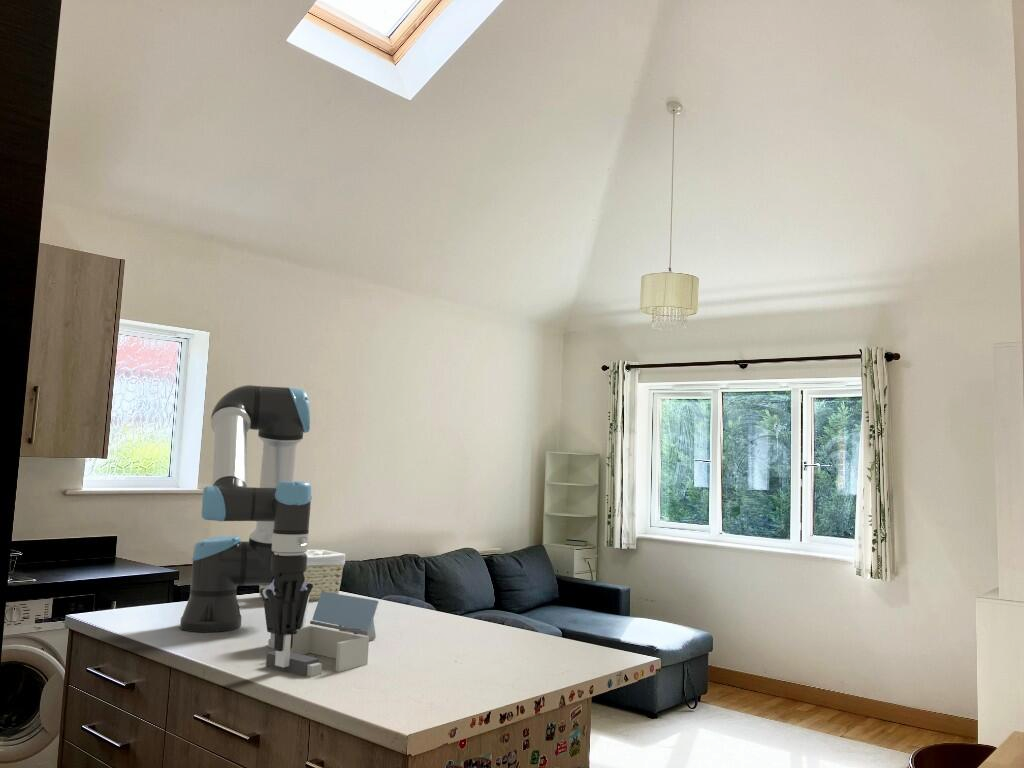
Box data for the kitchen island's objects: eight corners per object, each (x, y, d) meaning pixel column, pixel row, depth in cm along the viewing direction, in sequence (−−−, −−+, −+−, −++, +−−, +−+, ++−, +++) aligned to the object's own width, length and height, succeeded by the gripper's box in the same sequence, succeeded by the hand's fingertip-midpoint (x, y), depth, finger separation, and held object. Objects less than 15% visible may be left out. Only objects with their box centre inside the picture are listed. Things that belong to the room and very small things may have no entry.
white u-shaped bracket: (280, 658, 181) (282, 631, 182) (310, 651, 189) (312, 625, 189) (338, 672, 172) (340, 643, 172) (367, 664, 179) (369, 636, 180)
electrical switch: (347, 645, 196) (347, 606, 198) (334, 644, 199) (334, 605, 201) (376, 640, 203) (376, 602, 205) (363, 639, 207) (362, 602, 208)
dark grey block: (265, 667, 174) (266, 652, 174) (280, 663, 177) (281, 649, 177) (309, 678, 167) (310, 663, 167) (323, 674, 170) (324, 659, 170)
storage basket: (320, 591, 273) (323, 548, 274) (345, 599, 261) (348, 553, 262) (253, 597, 257) (257, 551, 259) (276, 605, 245) (279, 556, 247)
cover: (320, 590, 192) (324, 592, 193) (309, 623, 188) (313, 625, 189) (376, 600, 182) (379, 601, 183) (365, 634, 179) (369, 636, 180)
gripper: (277, 557, 165) (269, 674, 162) (324, 552, 176) (317, 662, 173) (253, 553, 169) (245, 668, 167) (300, 549, 180) (293, 657, 177)
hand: (282, 665), depth 170 cm, fingers closed
